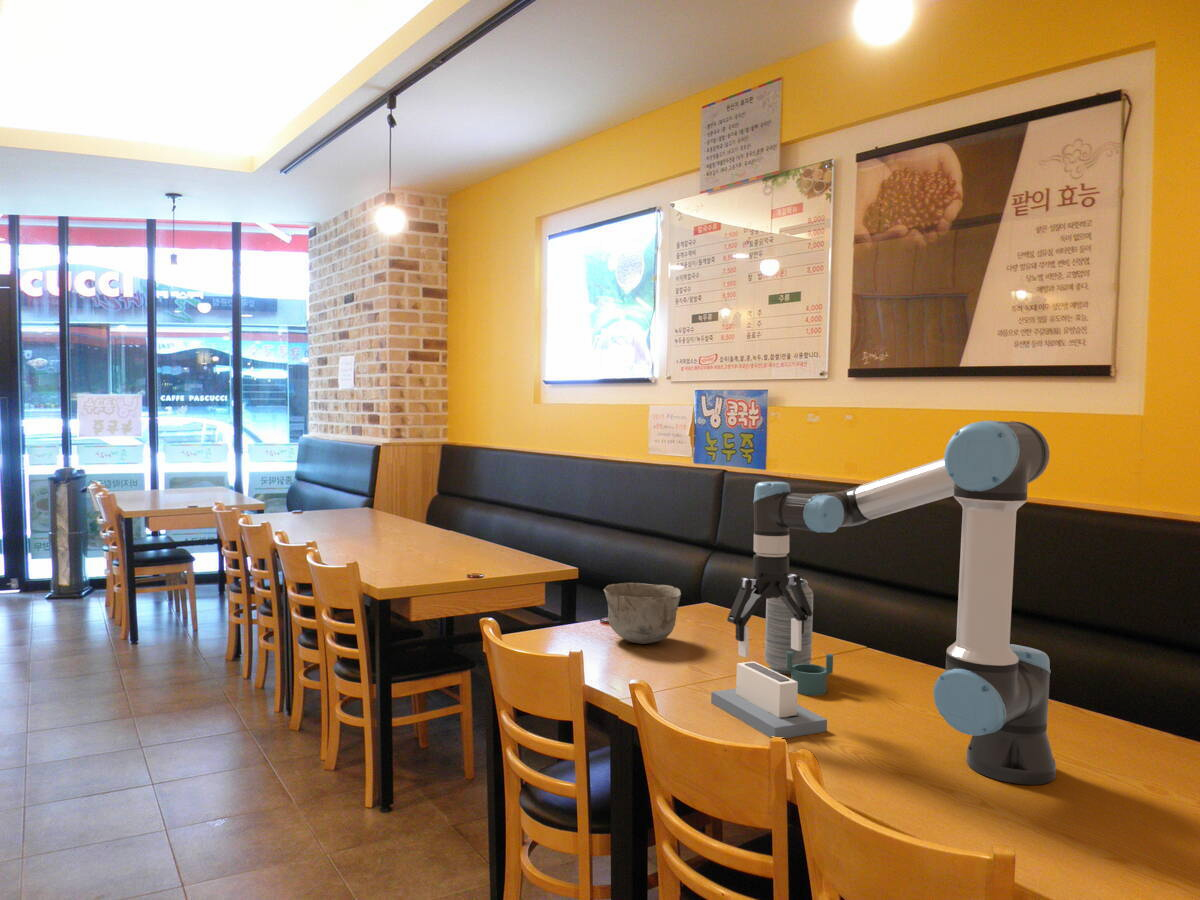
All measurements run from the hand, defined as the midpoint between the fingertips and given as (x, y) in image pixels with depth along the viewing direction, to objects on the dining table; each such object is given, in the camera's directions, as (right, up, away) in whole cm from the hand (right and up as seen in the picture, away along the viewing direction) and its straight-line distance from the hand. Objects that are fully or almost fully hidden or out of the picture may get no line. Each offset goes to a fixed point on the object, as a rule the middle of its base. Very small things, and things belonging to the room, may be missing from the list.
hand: (770, 652), depth 189 cm
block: (-1, -13, +1) cm, 13 cm away
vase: (+11, -13, +36) cm, 40 cm away
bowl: (-25, -11, +60) cm, 66 cm away
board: (-1, -14, +1) cm, 14 cm away
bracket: (+13, -14, +20) cm, 28 cm away
